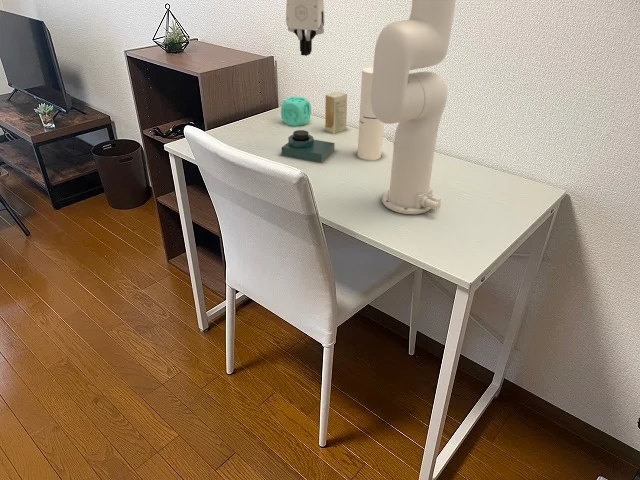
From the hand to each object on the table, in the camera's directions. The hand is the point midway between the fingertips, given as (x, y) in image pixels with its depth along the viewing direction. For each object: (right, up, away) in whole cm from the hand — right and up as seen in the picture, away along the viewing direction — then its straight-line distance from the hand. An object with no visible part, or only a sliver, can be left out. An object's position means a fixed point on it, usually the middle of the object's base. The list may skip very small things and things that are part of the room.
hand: (305, 54), depth 141 cm
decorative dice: (-4, -12, +32) cm, 34 cm away
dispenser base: (+1, -27, +8) cm, 28 cm away
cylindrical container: (+19, -28, +7) cm, 35 cm away
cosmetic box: (+9, -16, +26) cm, 32 cm away
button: (-2, -23, +7) cm, 24 cm away
